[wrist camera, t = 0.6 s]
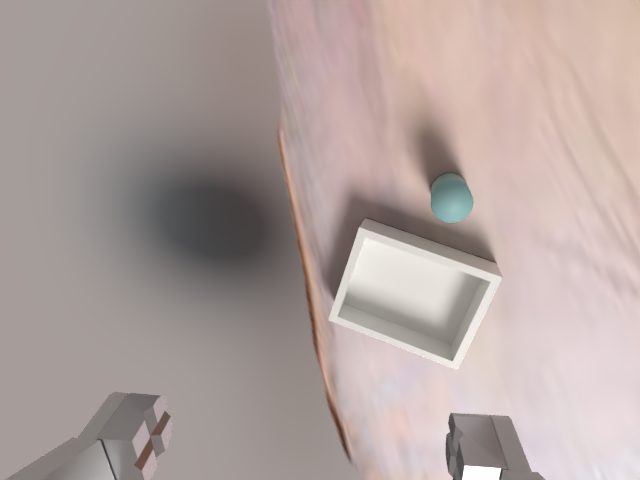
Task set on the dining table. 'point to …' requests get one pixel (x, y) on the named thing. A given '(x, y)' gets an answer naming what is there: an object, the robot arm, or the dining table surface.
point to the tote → (414, 293)
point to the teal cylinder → (451, 198)
